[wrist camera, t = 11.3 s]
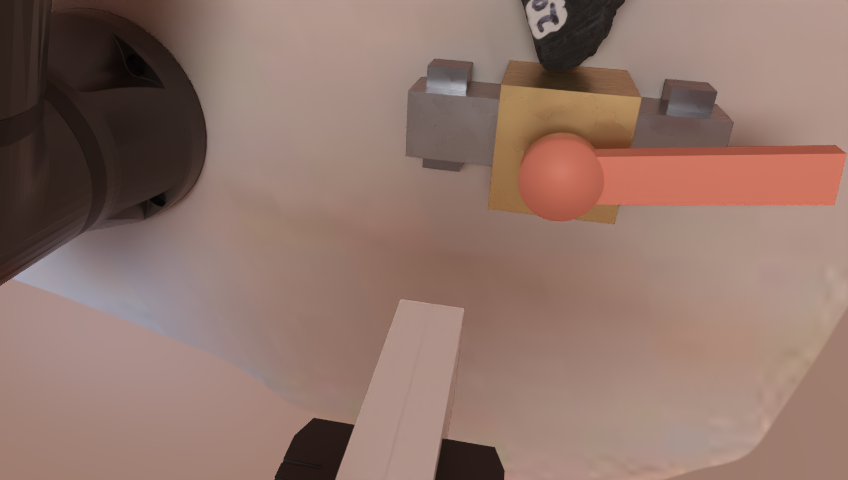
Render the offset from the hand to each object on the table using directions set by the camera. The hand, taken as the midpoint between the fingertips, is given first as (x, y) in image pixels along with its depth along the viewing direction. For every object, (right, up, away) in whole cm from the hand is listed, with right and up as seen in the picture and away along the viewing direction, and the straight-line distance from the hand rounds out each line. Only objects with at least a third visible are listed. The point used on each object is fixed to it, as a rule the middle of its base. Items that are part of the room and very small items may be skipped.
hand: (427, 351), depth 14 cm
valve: (+9, +10, +24) cm, 27 cm away
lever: (+12, +6, +15) cm, 20 cm away
